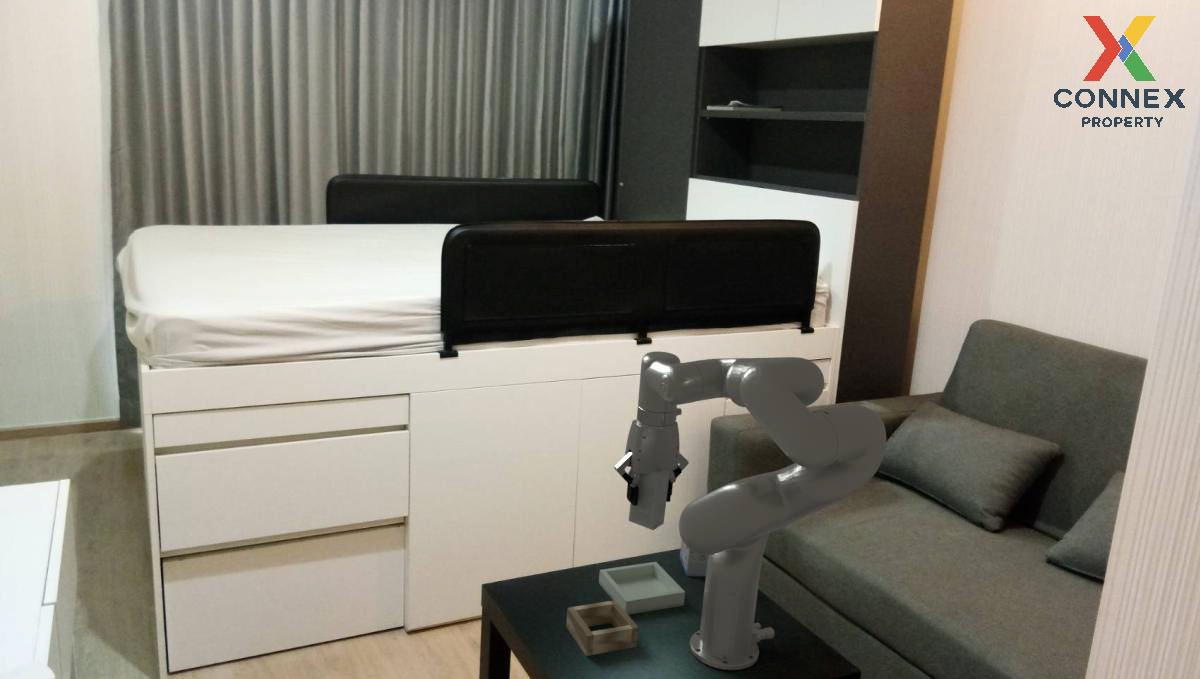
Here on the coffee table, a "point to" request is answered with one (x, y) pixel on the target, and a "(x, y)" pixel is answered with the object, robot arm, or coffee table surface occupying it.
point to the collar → (601, 639)
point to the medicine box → (693, 561)
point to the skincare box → (651, 500)
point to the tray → (641, 587)
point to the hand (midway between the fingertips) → (648, 500)
